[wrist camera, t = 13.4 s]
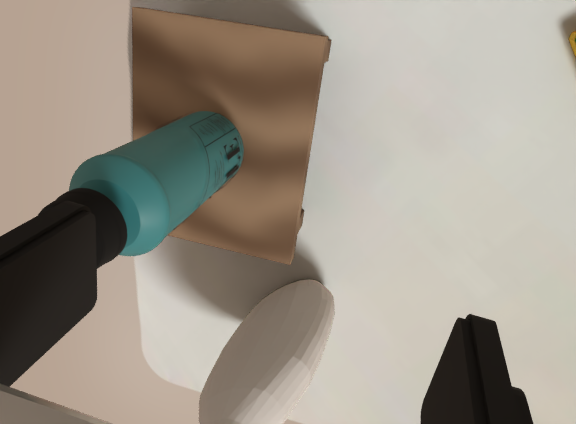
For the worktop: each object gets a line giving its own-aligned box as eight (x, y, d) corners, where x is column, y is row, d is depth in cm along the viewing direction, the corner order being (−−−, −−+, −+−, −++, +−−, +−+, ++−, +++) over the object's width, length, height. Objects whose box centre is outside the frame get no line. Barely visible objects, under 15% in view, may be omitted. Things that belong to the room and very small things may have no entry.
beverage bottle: (172, 113, 40) (-19, 190, 22) (242, 96, 38) (93, 166, 20) (195, 184, 42) (37, 305, 25) (262, 171, 40) (144, 294, 23)
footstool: (174, 8, 44) (132, 7, 38) (339, 34, 42) (325, 37, 35) (169, 200, 53) (133, 227, 46) (306, 231, 50) (290, 264, 43)
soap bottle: (268, 357, 58) (166, 601, 34) (227, 308, 56) (89, 526, 32) (365, 307, 52) (325, 561, 28) (322, 251, 50) (239, 467, 26)
